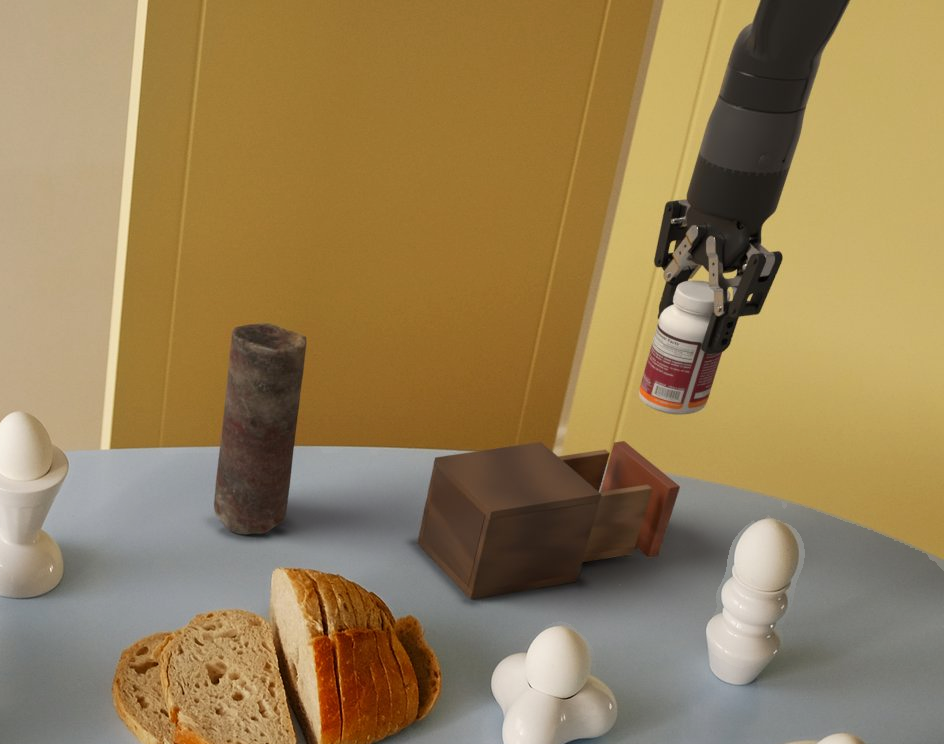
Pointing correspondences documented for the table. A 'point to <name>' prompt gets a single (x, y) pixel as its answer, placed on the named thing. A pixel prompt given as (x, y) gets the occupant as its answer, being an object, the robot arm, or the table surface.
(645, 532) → the drawer
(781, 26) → the robot arm
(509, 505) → the cabinet
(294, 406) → the brown clay vase
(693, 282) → the pill bottle
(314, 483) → the table surface
